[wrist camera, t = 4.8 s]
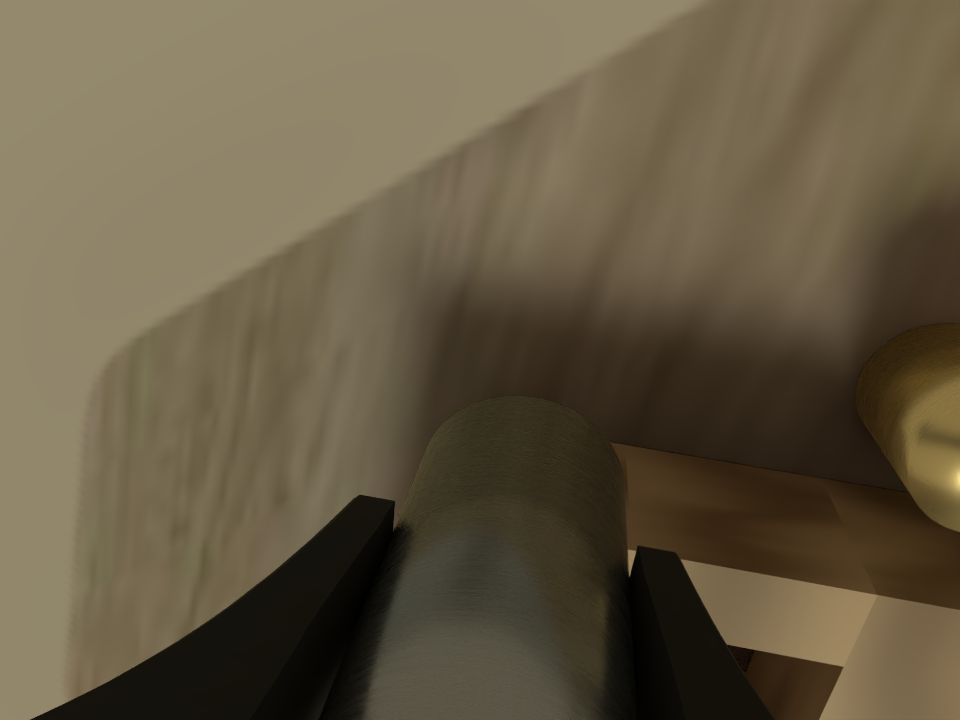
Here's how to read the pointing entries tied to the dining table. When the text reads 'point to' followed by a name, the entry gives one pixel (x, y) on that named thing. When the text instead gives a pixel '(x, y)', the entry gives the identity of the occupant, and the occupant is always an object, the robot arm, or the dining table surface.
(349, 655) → the long pin
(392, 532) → the robot arm
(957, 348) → the olive rounded lump
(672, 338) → the dining table surface
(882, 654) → the hole plate
